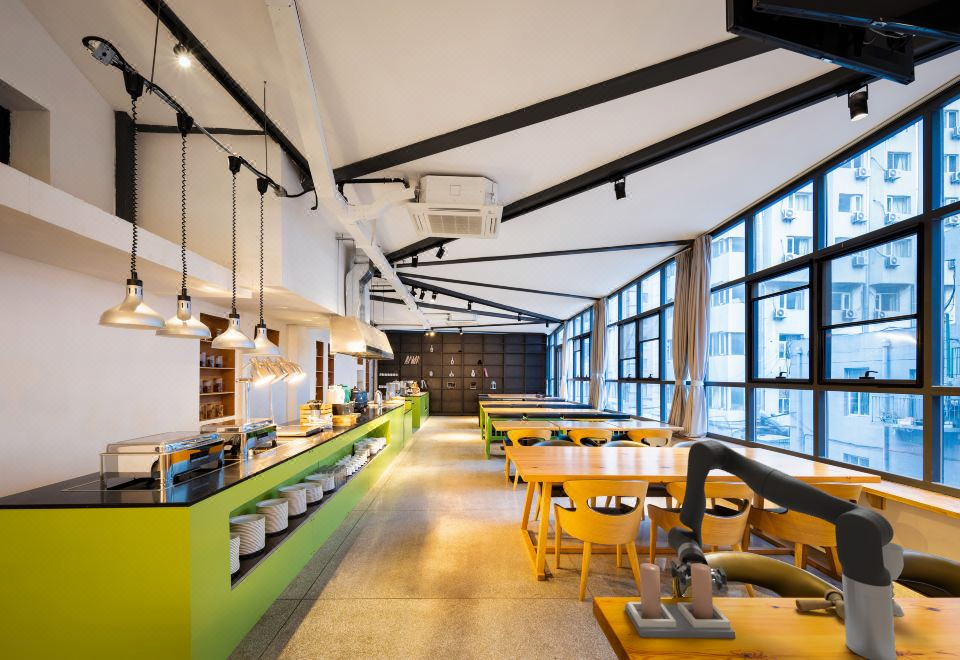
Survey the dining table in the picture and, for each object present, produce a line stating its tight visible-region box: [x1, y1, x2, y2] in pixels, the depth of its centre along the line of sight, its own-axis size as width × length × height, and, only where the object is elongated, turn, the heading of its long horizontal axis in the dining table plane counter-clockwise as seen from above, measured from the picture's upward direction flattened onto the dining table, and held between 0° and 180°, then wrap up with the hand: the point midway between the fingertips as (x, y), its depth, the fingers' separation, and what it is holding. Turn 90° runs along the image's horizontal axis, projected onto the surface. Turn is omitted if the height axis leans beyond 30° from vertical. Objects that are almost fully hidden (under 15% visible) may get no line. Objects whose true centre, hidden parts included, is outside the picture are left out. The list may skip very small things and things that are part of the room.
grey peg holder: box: [624, 562, 736, 639], centre depth 122 cm, size 24×13×14 cm, turn 90°
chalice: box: [882, 542, 906, 617], centre depth 129 cm, size 7×7×18 cm
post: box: [690, 563, 714, 619], centre depth 122 cm, size 5×5×13 cm
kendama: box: [795, 588, 845, 620], centre depth 127 cm, size 8×6×18 cm
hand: (701, 584), depth 123 cm, fingers open, 8 cm apart
